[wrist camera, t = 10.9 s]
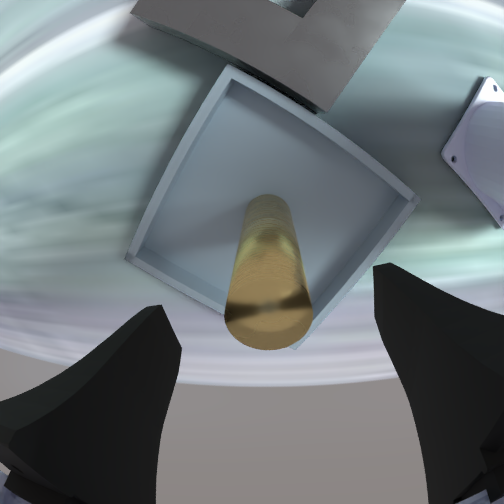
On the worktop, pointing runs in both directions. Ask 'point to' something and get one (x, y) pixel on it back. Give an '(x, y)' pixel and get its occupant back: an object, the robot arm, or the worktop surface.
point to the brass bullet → (268, 279)
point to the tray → (267, 182)
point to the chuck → (280, 39)
